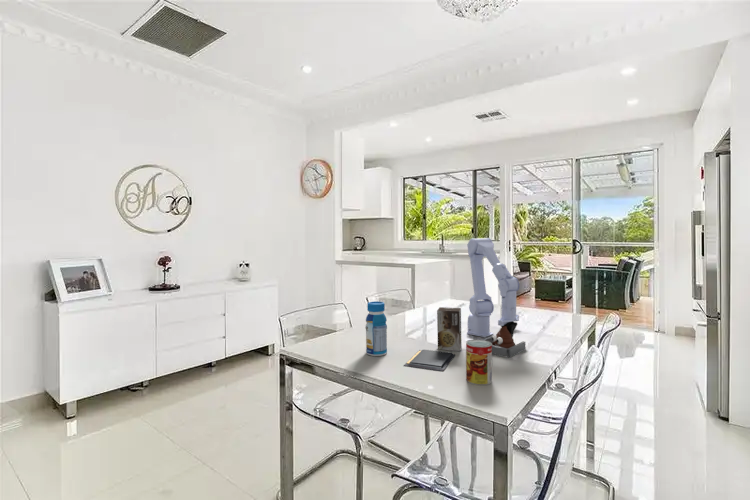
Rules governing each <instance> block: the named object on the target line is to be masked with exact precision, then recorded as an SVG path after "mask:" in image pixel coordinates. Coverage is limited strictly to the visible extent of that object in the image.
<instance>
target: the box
mask: <svg viewBox="0 0 750 500" xmlns="http://www.w3.org/2000/svg"><path fill="white" fill-rule="evenodd" d="M492 336H493V335H492ZM492 336H491V335H490V336H487V337H485V338H484V339H482V340H485V341H489V342H491V343H493V341H492ZM525 350H526V341H521V342H519V343H515V345H514V346H512V347H510V348H508V349H507V348H503V347H498V346H494V345H492V355H496V356H501V357H504V358H505V357H506V358H508V359H509V358H511V357H513V356H515V355H517V354H519V353H521V352H523V351H525Z"/></svg>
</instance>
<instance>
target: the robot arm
mask: <svg viewBox="0 0 750 500" xmlns="http://www.w3.org/2000/svg"><path fill="white" fill-rule="evenodd" d="M494 244H495V243H494V242H493V240H492V239H491V238H490V237H484V238H483V237H482V238H474V237H472V238H470V239H469V240H468V242H467V253H468V257H469V262H470V269H471V278H472V286H473V295H472V296H471V297H470V298H469V306H468V309H469V312H470V314H469V315H468V317H467V332H466V334H467V335H471V336H475V337H481V338H488V337H490V336H491V335H492V336H493V335H494V332H491V330H490V329H491V328H490V327H491V326H490V325H491V321H490V319H491V318H490V317H491V316H492V314H493V312H494V309H495V306H494V302H493V300H492V296H490V295H489V294H488V293H487V289H486V282H485V273H484V267H483V259H484V258H486V259H487V261H488V262H489V263H490V265H491V266H492V271H491V272H492V273H493V276H494V278H496V281H498V284H497V285H498V290H499V295H500V296H501V307H502V309H501V317H500V318H499V320H498V321H497V325H498V326H500V327H501V328H502V327H504V326H506V327H507V329H508V331H509V332H510V334H511V336H512V338H513V337H514V334H515V330H516V328H517V326H518V322H519V321H520V315H518V314H517V292H518V291H519V289H520V281H519V279H518V278H517V277H514V276H513V275H512V274H511V272H510V270H508V268H507V266H506V264H504V263H501V261H500V259H499V257H498V255H497V254H496V252H495V250H494V247H495V246H494ZM513 339H514V338H513Z"/></svg>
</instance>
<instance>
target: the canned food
mask: <svg viewBox="0 0 750 500" xmlns="http://www.w3.org/2000/svg"><path fill="white" fill-rule="evenodd" d="M492 361H493V354H492V343H491V342H489V341H485V340H483V339H469V340H467V341H466V342H465V374H466V375H465V380H466V381H467V382H468V383H469V384H472V385H477V386H487V385H490V384H491V383H492V382H493V381H492V380H493V379H492V378H493V377H492V376H493V367H492V366H493V363H492Z"/></svg>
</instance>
